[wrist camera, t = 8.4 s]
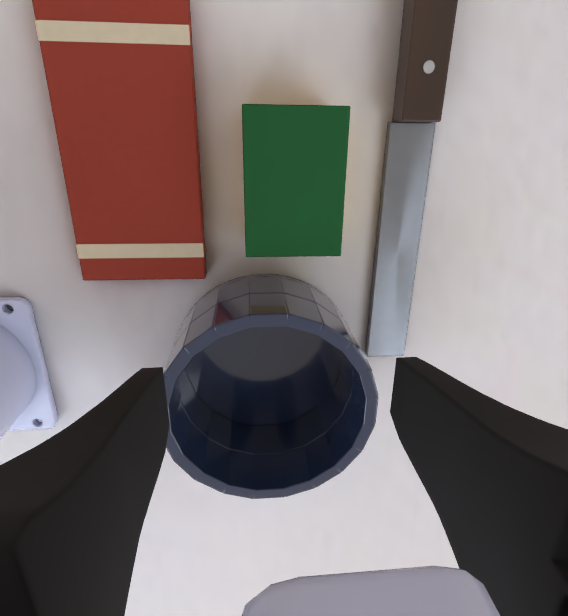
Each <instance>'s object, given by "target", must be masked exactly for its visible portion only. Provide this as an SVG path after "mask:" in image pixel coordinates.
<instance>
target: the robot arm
mask: <svg viewBox="0 0 568 616" xmlns="http://www.w3.org/2000/svg"><path fill="white" fill-rule="evenodd" d="M6 304H8V305H10V306H12V308H13V311H11V310H9V309H7V307H6ZM390 413H391V416H392V419H393V422H394V425H395V428H396V431H397V433H398V436H399V439H400V441H401V443H402V445H403V447H404V449H405V451H406V453H407V455H408V457H409V459H410V461H411V462H412V464H413V466H414V468H415V470H416V472H417V474H418V476H419V478H420V479H421V481H422V483H423V485H424V487H425V489H426V491H427V493H428V495H429V496H430V498H431V500H432V502H433V504H434V506H435V509H436V511H437V513H438V515H439V517H440V520H441V522H442V525H443V527H444V530H445V532H446V535H447V537H448V540H449V542H450V545H451V547H452V550H453V552H454V555H455V558H456V560H457V563H458V566H459V568H460V569H456V568H448V567H439V566H426V567H414V568H402V569H390V570H378V571H366V572H353V573H341V574H329V575H317V576H305V577H297V578H294V579H290V580H286V581H282V582H279V583H275V584H271V585H270V586H269V587H267V588H266V589H265V590H263V591H262V592H261V593H259V594H258V595H257V596H255V597H254V598H253V599H252V600H250V601H249V602H248V603H247V604H246V605H245V608H244V611H243V614H242V616H568V429H565V428H562V427H559V426H556V425H553V424H550V423H547V422H545V421H542V420H540V419H537V418H534V417H532V416H530V415H527V414H525V413H523V412H520V411H518V410H515V409H513V408H511V407H509V406H506V405H504V404H502V403H500V402H498V401H496V400H494V399H492V398H490V397H488V396H486V395H484V394H482V393H480V392H478V391H477V390H475V389H473V388H471V387H469V386H467V385H466V384H464V383H462V382H460V381H458V380H457V379H455V378H453V377H451V376H450V375H448V374H446V373H445V372H443V371H441V370H439V369H438V368H436V367H434V366H432V365H431V364H429V363H427V362H425V361H423V360H421V359H419V358H417V357H404V358H397V359H396V367H395V375H394V384H393V392H392V401H391V409H390ZM36 419H39V420H41V421H42V422H39V421H37V420H36ZM57 422H58V415H57V411H56V407H55V402H54V398H53V394H52V390H51V386H50V381H49V377H48V373H47V369H46V365H45V360H44V356H43V352H42V348H41V344H40V340H39V335H38V331H37V327H36V323H35V319H34V314H33V310H32V306H31V304H30V302H29V301H28V300H26V299H25V298H21V297H3V298H0V439H1V438H2V437H3V435H4V434H5V433H6V432H7V431H9V430H33V429H50V428H53V427H55V425H56V424H57ZM169 426H170V421H169V413H168V405H167V397H166V389H165V381H164V374H163V367H160V368H142V369H140V370H139V371H138V372H136V373H135V374H134V375H133V376H132V377H131V378H129V379H128V380H127V381H126V382H125V383H124V384H122V385H121V386H120V387H119V388H118V389H116V390H115V391H114V392H113V393H112V394H110V395H109V396H108V397H107V398H106V399H104V400H103V401H102V402H101V403H99V404H98V405H97V406H95V407H94V408H93V409H91V410H90V411H89V412H87V413H86V414H85V415H83V416H82V417H81V418H79V419H78V420H77V421H75V422H74V423H73V424H71V425H70V426H68V427H67V428H65V429H64V430H62V431H61V432H59V433H58V434H56V435H54V436H53V437H51V438H49V439H48V440H46V441H45V442H43V443H41V444H40V445H38V446H36V447H34V448H32V449H30V450H29V451H27V452H25V453H23V454H21V455H19V456H17V457H15V458H13V459H12V460H10V461H8V462H6V463H4V464H2V465H0V616H124V614H125V609H126V603H127V598H128V593H129V587H130V582H131V577H132V571H133V567H134V562H135V557H136V552H137V547H138V542H139V537H140V533H141V530H142V526H143V522H144V519H145V516H146V512H147V509H148V506H149V503H150V500H151V497H152V493H153V490H154V487H155V484H156V481H157V477H158V474H159V471H160V468H161V464H162V461H163V458H164V454H165V450H166V444H167V438H168V432H169Z"/></svg>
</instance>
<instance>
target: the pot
mask: <svg viewBox="0 0 568 616" xmlns="http://www.w3.org/2000/svg"><path fill="white" fill-rule="evenodd" d="M163 374H164V381H165V389H166V397H167V405H168V413H169V421H170V426H169V432H168V438H167V444H166V448H167V450H168V452H169V454H170V455H171V457H172V459H173V461H174V462H175V463H177V464H178V465H179V466H180V467H181V468H182V469H183V470H184V471H185V472H187V473H188V474H189V475H190V476H191V477H192V478H193V479H194V480H196V481H198V482H200V483H203V484H205V485H207V486H209V487H211V488H213V489H215V490H217V491H219V492H222V493H224V494H229V495H235V496H240V497H246V498H251V499H260V498H278V497H285V496H286V497H287V496H290V495H294V494H297V493H300V492H304V491H307V490H310V489H314V488H315V487H318V486H319V485H321V484H323V483H325V482H326V481H328V480H330V479H331V478H333V477H335V476H336V475H338V474H340V473H341V472H342V471H343V470H344V469H345V468H346V467H347V466H348V465H349V464H350V463H351V462H352V461H353V460H354V459H355V458H356V457H357V456H358V455H359V454H360V453H361V451H362V450H363V448H364V446H365V444H366V442H367V440H368V438H369V436H370V434H371V432H372V430H373V428H374V426H375V423H376V414H377V405H378V392H377V388H376V384H375V381H374V377H373V373H372V369H371V367H370V365H369V363H368V361H367V359H366V358H365V356H364V354H363V352H362V350H361V348H360V346H359V345H358V343H357V341H356V339H355V337H354V335H353V334H352V332H351V330H350V328H349V326H348V324H347V322H346V321H345V319H344V318H343V317H342V315H341V314H340V312H339V311H338V309H337V308H336V306H335V305H334V304H333V303H332V302H331V301H330V299H329V298H328V297H326V296H325V295H324V294H323V293H322V292H320V291H319V290H317V289H316V288H314V287H313V286H311V285H309V284H307V283H305V282H303V281H300V280H298V279H294V278H291V277H288V276H282V275H276V274H257V275H249V276H244V277H239V278H236V279H233V280H230V281H228V282H226V283H224V284H221V285H219V286H217V287H216V288H214V289H213V290H211V291H210V292H208V293H207V294H206V295H205V296H203V297H202V298H201V299H200V300H199V301H198V302H197V303H196V304H195V305H194V307H193V308H192V309H191V310H190V312H189V313H188V315H187V316H186V318H185V320H184V322H183V323H182V325H181V327H180V329H179V332H178V334H177V337H176V340H175V343H174V346H173V348H172V351H171V354H170V357H169V359H168V362H167V365H166V368H165V370H164V373H163Z"/></svg>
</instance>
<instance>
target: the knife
mask: <svg viewBox="0 0 568 616" xmlns="http://www.w3.org/2000/svg"><path fill="white" fill-rule="evenodd" d="M457 2H458V0H404V10H403V20H402V30H401V40H400V50H399V60H398V70H397V80H396V90H395V100H394V110H393V119H392V121H393V122H388V127H387V137H386V147H385V157H384V168H383V178H382V188H381V199H380V209H379V219H378V230H377V240H376V250H375V260H374V271H373V281H372V291H371V302H370V312H369V322H368V332H367V343H366V355H367V357H371V356H403V355H404V350H405V342H406V335H407V328H408V321H409V313H410V306H411V299H412V291H413V284H414V277H415V270H416V262H417V255H418V248H419V240H420V233H421V226H422V219H423V211H424V204H425V197H426V189H427V182H428V175H429V168H430V160H431V153H432V146H433V138H434V131H435V123H431V122H440V121H441V115H442V108H443V101H444V94H445V87H446V80H447V73H448V65H449V58H450V51H451V44H452V37H453V30H454V23H455V16H456V9H457Z"/></svg>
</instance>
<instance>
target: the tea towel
mask: <svg viewBox="0 0 568 616" xmlns="http://www.w3.org/2000/svg"><path fill="white" fill-rule="evenodd" d="M32 2H33V7H34V13H35V18H36V20H35V25H36V31H37V36H38V41H40V45H41V51H42V56H43V62H44V67H45V73H46V78H47V84H48V89H49V95H50V100H51V106H52V111H53V117H54V122H55V128H56V133H57V139H58V144H59V150H60V155H61V161H62V166H63V172H64V177H65V183H66V188H67V194H68V199H69V204H70V210H71V215H72V221H73V226H74V232H75V237H76V243H77V244H76V249H77V254H78V259H80V265H81V270H82V276H83V280H149V279H205V277H206V274H207V271H206V255H205V239H204V223H203V207H202V191H201V175H200V160H199V144H198V128H197V112H196V96H195V80H194V64H193V48H192V32H191V16H190V0H32Z"/></svg>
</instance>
